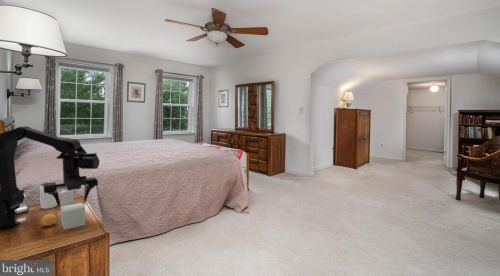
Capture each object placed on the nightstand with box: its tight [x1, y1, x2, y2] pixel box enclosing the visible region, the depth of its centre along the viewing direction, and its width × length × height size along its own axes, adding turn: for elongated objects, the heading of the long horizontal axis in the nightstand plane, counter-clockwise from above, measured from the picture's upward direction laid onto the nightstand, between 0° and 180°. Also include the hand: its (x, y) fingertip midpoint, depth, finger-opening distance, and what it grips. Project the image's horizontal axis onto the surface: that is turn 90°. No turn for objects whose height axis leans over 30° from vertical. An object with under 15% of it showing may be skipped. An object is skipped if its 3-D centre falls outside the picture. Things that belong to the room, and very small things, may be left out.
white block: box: [60, 202, 86, 231], centre depth 109 cm, size 8×8×8 cm
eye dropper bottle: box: [59, 187, 75, 207], centre depth 130 cm, size 4×6×12 cm
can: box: [39, 182, 58, 210], centre depth 127 cm, size 6×6×12 cm
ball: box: [41, 213, 57, 227], centre depth 107 cm, size 5×5×5 cm
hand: (72, 203), depth 108 cm, fingers open, 9 cm apart
